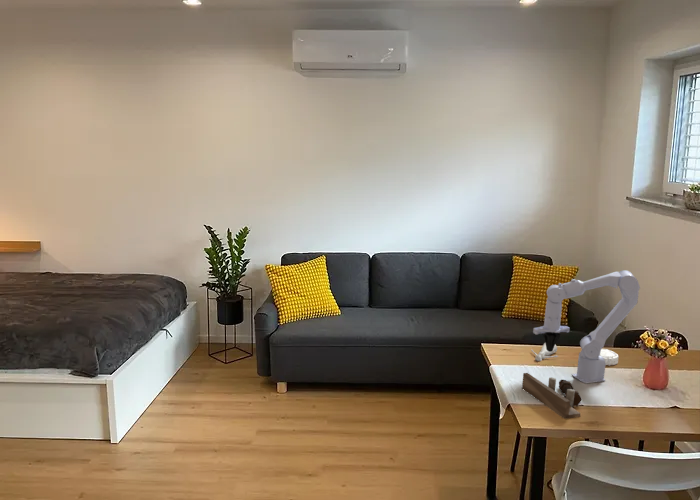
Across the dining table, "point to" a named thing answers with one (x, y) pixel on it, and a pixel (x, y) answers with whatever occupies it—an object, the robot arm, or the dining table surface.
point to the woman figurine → (545, 353)
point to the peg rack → (551, 396)
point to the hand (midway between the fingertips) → (549, 350)
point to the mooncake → (609, 357)
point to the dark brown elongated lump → (567, 385)
